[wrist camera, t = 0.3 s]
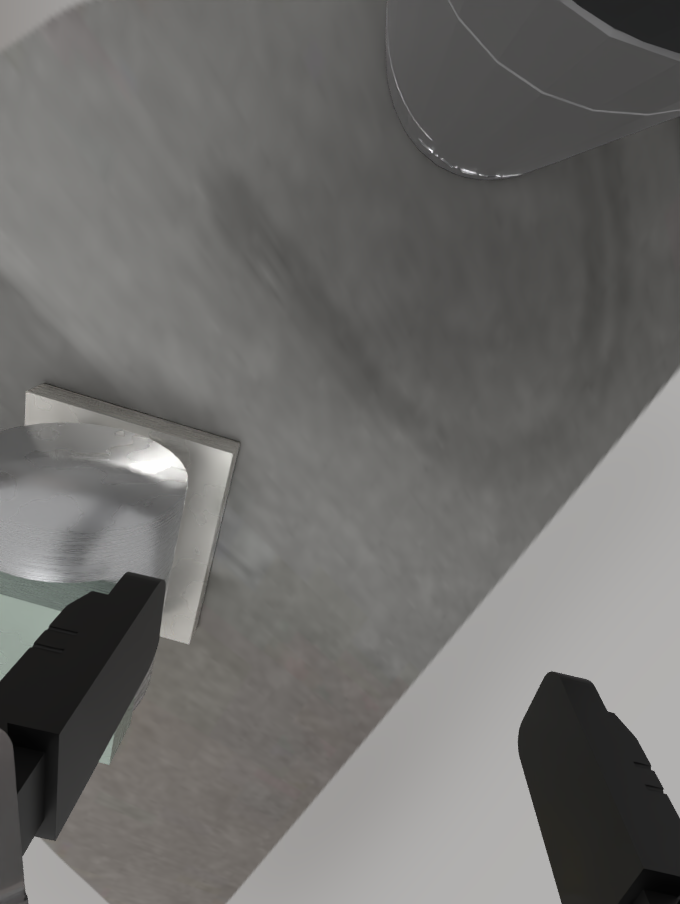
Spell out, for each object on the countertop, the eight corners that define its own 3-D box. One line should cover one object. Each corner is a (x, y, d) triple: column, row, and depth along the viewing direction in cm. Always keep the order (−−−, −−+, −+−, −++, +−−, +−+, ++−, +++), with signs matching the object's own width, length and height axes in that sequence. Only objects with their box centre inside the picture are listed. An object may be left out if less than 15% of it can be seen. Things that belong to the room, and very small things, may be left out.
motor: (43, 383, 27) (-213, 502, 16) (240, 442, 28) (136, 601, 16) (32, 598, 34) (-156, 799, 22) (193, 643, 34) (93, 863, 22)
